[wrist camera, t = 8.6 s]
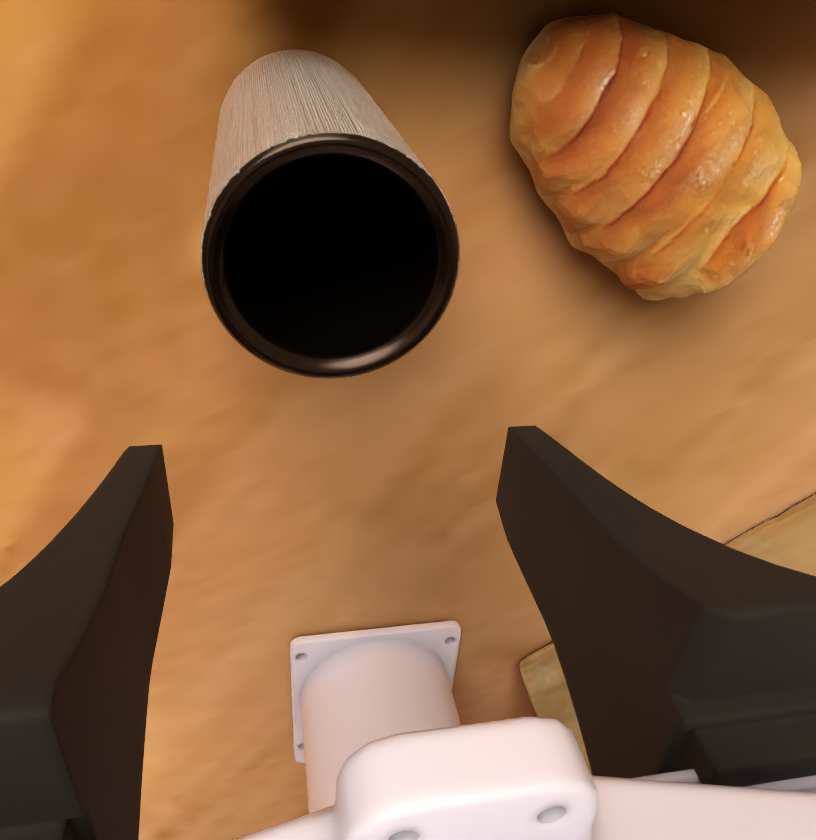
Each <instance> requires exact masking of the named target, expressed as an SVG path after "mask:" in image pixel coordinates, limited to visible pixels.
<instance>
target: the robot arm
mask: <svg viewBox="0 0 816 840" xmlns="http://www.w3.org/2000/svg"><path fill="white" fill-rule="evenodd" d="M496 503H497V506H498V510H499V513H500V517H501V521H502V524H503V527H504V530H505V534H506V537H507V540H508V542H509V544H510V547H511V549H512V551H513V554H514V556H515V558H516V560H517V562H518V565H519V567H520V569H521V571H522V573H523V576H524V578H525V580H526V582H527V584H528V586H529V589H530V591H531V593H532V595H533V597H534V599H535V601H536V604H537V606H538V608H539V610H540V612H541V614H542V617H543V619H544V621H545V623H546V626H547V628H548V631H549V633H550V636H551V638H552V641H553V644H554V647H555V650H556V653H557V656H558V659H559V662H560V665H561V668H562V671H563V674H564V677H565V680H566V684H567V687H568V690H569V693H570V697H571V700H572V703H573V707H574V710H575V713H576V716H577V720H578V723H579V727H580V731H581V734H582V738H583V742H584V745H585V749H586V753H587V756H588V760H589V763H590V767H591V771H592V775H593V776H592V775H591V774H590V772H589V769H588V767H587V764H586V762H585V759H584V757H583V755H582V752H581V750H580V747H579V745H578V742H577V740H576V738H575V735H574V733H573V730H572V729H570V728H569V727H567V726H566V725H564V724H563V723H561V722H559V721H558V720H556V719H553V718H549V717H519V718H511V719H504V720H496V721H488V722H481V723H473V724H466V725H461V723H460V720H459V716H458V712H457V709H456V705H455V701H454V698H453V694H452V687H453V681H454V675H455V668H456V662H457V656H458V649H459V643H460V637H461V628H460V625H459V623H458V622H456V621H443V622H433V623H423V624H414V625H404V626H395V627H385V628H376V629H366V630H357V631H347V632H338V633H328V634H319V635H309V636H300V637H296V638H295V639H293V640H292V641H291V642H290V664H291V690H292V716H293V742H294V759H295V760H296V761H297V762H300V763H305V767H306V781H307V795H308V809H309V814H306V815H303V816H300V817H297V818H294V819H292V820H289V821H286V822H283V823H280V824H277V825H274V826H271V827H268V828H266V829H263V830H260V831H257V832H254V833H251V834H248V835H245V836H242V837H240V838H237V839H233V840H816V576H813V575H810V574H806V573H803V572H800V571H796V570H793V569H790V568H786V567H783V566H780V565H776V564H773V563H770V562H768V561H765V560H762V559H759V558H757V557H754V556H751V555H749V554H746V553H743V552H741V551H738V550H736V549H733V548H731V547H728V546H726V545H723V544H721V543H719V542H717V541H714V540H712V539H710V538H708V537H706V536H703V535H701V534H699V533H697V532H695V531H693V530H691V529H689V528H687V527H685V526H683V525H681V524H679V523H677V522H675V521H673V520H671V519H670V518H668V517H666V516H664V515H662V514H661V513H659V512H657V511H655V510H653V509H652V508H650V507H648V506H647V505H645V504H643V503H642V502H640V501H638V500H637V499H635V498H634V497H632V496H631V495H629V494H628V493H626V492H625V491H623V490H622V489H620V488H619V487H617V486H616V485H614V484H613V483H611V482H610V481H609V480H607V479H606V478H604V477H603V476H602V475H600V474H599V473H597V472H596V471H595V470H593V469H592V468H591V467H589V466H588V465H587V464H585V463H584V462H583V461H581V460H580V459H579V458H577V457H576V456H575V455H574V454H572V453H571V452H570V451H568V450H567V449H566V448H564V447H563V446H562V445H561V444H559V443H558V442H557V441H555V440H554V439H553V438H552V437H550V436H549V435H548V434H546V433H545V432H543V431H542V430H541V429H539V428H538V427H536V426H520V427H508V433H507V439H506V444H505V450H504V456H503V462H502V468H501V474H500V479H499V485H498V491H497V497H496ZM172 541H173V517H172V510H171V503H170V497H169V490H168V483H167V476H166V470H165V463H164V456H163V450H162V445H147V446H129V447H128V448H127V449H126V450H125V451H124V453H123V454H122V455H121V457H120V458H119V460H118V461H117V462H116V464H115V465H114V467H113V468H112V469H111V471H110V472H109V474H108V475H107V476H106V478H105V479H104V480H103V481H102V483H101V484H100V485H99V487H98V488H97V489H96V491H95V492H94V493H93V494H92V495H91V497H90V498H89V499H88V500H87V502H86V503H85V504H84V505H83V506H82V508H81V509H80V510H79V511H78V512H77V514H76V515H75V516H74V517H73V518H72V519H71V520H70V521H69V523H68V524H67V525H66V526H65V527H64V528H63V529H62V530H61V531H60V532H59V533H58V534H57V535H56V537H55V538H54V539H53V540H52V541H51V542H50V543H49V544H48V545H47V546H46V547H45V548H44V549H43V550H42V551H41V552H40V553H39V554H38V555H37V556H36V557H35V558H34V559H33V560H32V561H30V562H29V563H28V564H27V565H26V566H25V567H24V568H23V569H22V570H20V571H19V572H18V573H17V574H16V575H15V576H14V577H12V578H11V579H10V580H9V581H7V582H6V583H5V584H3V585H2V586H1V587H0V840H138V836H139V819H140V802H141V785H142V770H143V756H144V742H145V728H146V716H147V705H148V693H149V682H150V675H151V669H152V662H153V657H154V652H155V647H156V642H157V637H158V632H159V626H160V621H161V616H162V611H163V606H164V601H165V596H166V590H167V585H168V580H169V575H170V569H171V557H172ZM301 653H303V654H301Z"/></svg>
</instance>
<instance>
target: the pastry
mask: <svg viewBox="0 0 816 840" xmlns="http://www.w3.org/2000/svg"><path fill="white" fill-rule="evenodd" d="M510 140H511V143H512V144H513V146H514V147H515V149H516V150H517V152H518V153H519V155H520V156H521V158H522V160H523V162H524V163H525V164H526V166H527V167H528V169H529V170H530V172H531V175H532V178H533V181H534V185H535V189H536V191H537V193H538V194H539V195H540V197H541V198H542V200H543V201H544V203H545V204H546V205H547V206H548V207H549V209H551V210H552V211H553V212H554V214H555V216H556V217H557V218H558V220H559V221H560V223H561V226H562V228H563V230H564V232H565V235H566V238H567V239H568V241H569V242H570V244H571V245H572V247H574V248H576V249H577V250H580V251H583V252H587V253H589V254H591V255H592V256H594V257H595V258H596V259H597V260H598V261H599V262H601V263H602V264H603V265H604V266H606V267H607V268H609V269H610V270H612V271H613V272H614V273H615V274H616V275H617V276H618V277H619V279H620V281H621V282H622V283H623V284H624V285H625V286H626V287H628V288H630V289H635V290H636V292H637V293H638V295H640V296H641V297H642V298H644V299H647V300H663V299H667V298H669V297H675V298H683V297H687V296H689V295H692V294H694V293H703V294H705V293H710V292H713V291H715V290H718V289H721V288H723V287H724V286H726V285H727V284H729V283H730V282H732V281H733V280H734V279H735V278H737V277H738V276H739V275H740V274H742V273H743V272H745V271H746V270H747V269H748V268H749V267H750V266H751V265H752V264H753V263H754V262H755V261H756V260H757V259H758V258H759V257H760V256H761V255H762V254H763V253H764V252H766V251H767V250H768V249H769V248H770V247H771V245H772V244H773V243H774V242H775V241H776V239H777V237H778V235H779V233H780V231H781V228H782V225H783V222H784V220H785V218H786V217H787V216H788V215H789V213H790V212H791V211H792V209H793V207H794V205H795V203H796V201H797V197H798V193H799V188H800V183H801V164H802V163H801V162H800V161H799V157H798V154H797V152H796V150H795V147H794V145H793V144H792V143H791V142H790V141H789V140H788V139H787V137H786V135H785V133H784V131H783V129H782V128H781V123H780V118H779V116H778V114H777V112H776V110H775V108H774V106H773V104H772V102H771V100H770V98H769V96H768V95H767V94H766V93H765V92H764V91H763V90H761V89H760V88H758V87H757V86H756V85H754V84H753V83H752V82H751V81H749V80H748V79H747V78H746V77H745V76H744V75H743V74H741V72H740V71H739V70H738V69H737V68H736V66H735V65H734V64H733V63H732V62H731V61H730V60H729V59H728V57H727V56H725V55H723V54H720V53H717V52H713V51H711V50H709V49H708V48H706V47H704V46H702V45H700V44H698V43H695V42H691V41H687V40H684V39H680V38H679V37H677V36H675V35H673V34H671V33H668V32H664V31H660V30H657V29H654V28H652V27H650V26H649V25H647V24H643V23H640V22H636V21H632V20H630V19H628V18H624V17H621V16H620V15H618V14H615V13H606V14H599V15H591V16H572V17H566V18H561V19H557V20H555V21H553V22H550V23H549V24H547V25H546V26H545V27H544V28H543V29H542V30H541V32H540V33H539V34H538V36H537V37H536V38H535V39H534V40H533V42H532V43H531V44H530V45H529V47H528V48H527V50H526V51H525V53H524V55H523V57H522V59H521V61H520V64H519V67H518V70H517V74H516V78H515V83H514V86H513V90H512V108H511V118H510Z"/></svg>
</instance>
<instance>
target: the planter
mask: <svg viewBox="0 0 816 840" xmlns="http://www.w3.org/2000/svg"><path fill="white" fill-rule="evenodd" d="M200 258H201V271H202V278H203V282H204V287H205V290H206V293H207V296H208V299H209V301H210V304H211V306H212V308H213V310H214V312H215V314H216V316H217V317H218V319H219V320H220V322H221V323H222V325H223V326H224V328H225V329H226V330H227V331H228V333H229V334H230V335H231V336H232V337H233V338H234V339H235V340H236V341H237V342H238V343H239V344H240V345H241V346H242V347H243V348H244V349H246V350H247V351H248V352H250V353H251V354H252V355H254V356H255V357H257V358H258V359H260V360H261V361H263V362H265V363H267V364H269V365H271V366H273V367H275V368H278V369H280V370H283V371H286V372H289V373H292V374H296V375H300V376H305V377H312V378H330V379H333V378H345V377H352V376H357V375H361V374H365V373H369V372H372V371H374V370H377V369H380V368H382V367H384V366H387V365H389V364H391V363H392V362H394V361H396V360H398V359H399V358H401V357H403V356H404V355H405V354H407V353H408V352H410V351H411V350H412V349H413V348H415V347H416V346H417V345H418V344H419V343H420V342H421V341H422V340H423V339H424V338H425V337H426V336H427V335H428V334H429V333H430V332H431V331H432V329H433V328H434V327H435V326H436V324H437V323H438V321H439V320H440V318H441V317H442V315H443V313H444V312H445V310H446V308H447V306H448V304H449V301H450V299H451V296H452V294H453V291H454V288H455V285H456V280H457V276H458V270H459V260H460V245H459V236H458V230H457V226H456V222H455V218H454V215H453V212H452V209H451V207H450V205H449V203H448V200H447V199H446V197H445V195H444V193H443V191H442V190H441V188H440V187H439V185H438V184H437V182H436V181H435V179H434V178H433V177H432V175H431V174H430V173H429V171H428V170H427V169H426V167H425V166H424V165H423V164H422V162H421V161H420V160H419V158H418V157H417V156H416V154H415V153H414V152H413V151H412V149H411V148H410V147H409V145H408V144H407V143H406V141H405V140H404V139H403V138H402V136H401V135H400V134H399V132H398V131H397V130H396V128H395V127H394V126H393V124H392V123H391V122H390V121H389V119H388V118H387V117H386V115H385V114H384V113H383V111H382V110H381V109H380V108H379V106H378V105H377V104H376V102H375V101H374V100H373V98H372V97H371V96H370V95H369V93H368V92H367V91H366V89H365V88H364V87H363V85H362V84H361V83H360V82H359V80H358V79H357V78H356V77H355V76H354V75H353V74H352V73H351V72H350V71H349V70H347V69H346V68H345V67H343V66H342V65H341V64H339V63H338V62H336V61H335V60H333V59H331V58H329V57H327V56H325V55H322V54H320V53H317V52H313V51H309V50H301V49H287V50H280V51H276V52H272V53H270V54H267V55H264V56H262V57H260V58H258V59H257V60H255V61H254V62H252V63H251V64H249V65H248V66H247V67H246V68H245V69H244V70H243V71H242V72H241V73H240V74H239V75H238V76H237V77H236V79H235V80H234V82H233V83H232V85H231V86H230V88H229V90H228V92H227V94H226V96H225V98H224V101H223V104H222V107H221V110H220V115H219V121H218V128H217V135H216V141H215V148H214V155H213V162H212V169H211V176H210V182H209V189H208V196H207V203H206V210H205V217H204V224H203V231H202V239H201V255H200Z"/></svg>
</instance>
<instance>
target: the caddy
mask: <svg viewBox="0 0 816 840" xmlns="http://www.w3.org/2000/svg"><path fill="white" fill-rule="evenodd" d="M725 545H726V546H728V547H731V548H733V549H736V550H738V551H741V552H743V553H746V554H749V555H751V556H754V557H757V558H759V559H762V560H765V561H768V562H770V563H773V564H776V565H780V566H783V567H786V568H790V569H793V570H796V571H800V572H803V573H806V574H810V575H813V576H816V494H814V495H813V496H811V497H809V498H807V499H806V500H804V501H802V502H800V503H799V504H797V505H795V506H793V507H792V508H790V509H788V510H787V511H785V512H784V513H782V514H781V515H780V516H778V517H776V518H774V519H771V520H768V521H766V522H764V523H762V524H760V525H758V526H757V527H755V528H753V529H751V530H749V531H747V532H746V533H744V534H742V535H740V536H739V537H737V538H735V539H734V540H732V541H730V542H728V543H727V544H725ZM519 669H520V673H521V676H522V679H523V682H524V684H525V687H526V690H527V692H528V695H529V697H530V700H531V703H532V705H533V708H534V710H535V712H536V715H537V717H549V718H553V719H556V720H558V721H559V722H561V723H563V724H564V725H566V726H567V727H569V728H570V729H572V730H573V733H574V735H575V738H576V740H577V742H578V745H579V747H580V750H581V752H582V755H583V757H584V759H585V762H586V764H587V767H588V769H589V772H590V774H591V775H592V771H591V767H590V763H589V760H588V756H587V753H586V749H585V745H584V742H583V738H582V734H581V731H580V727H579V723H578V720H577V716H576V713H575V710H574V707H573V703H572V700H571V697H570V693H569V690H568V687H567V684H566V680H565V677H564V674H563V671H562V668H561V665H560V662H559V659H558V656H557V653H556V650H555V647H554V644H553V643H551V644H549V645H547V646H545V647H543V648H541V649H540V650H538V651H536V652H534V653H533V654H531V655H529V656H527V657H526V658H525V659H523V660H522V661H521V663H520V664H519ZM592 776H593V775H592Z"/></svg>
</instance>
